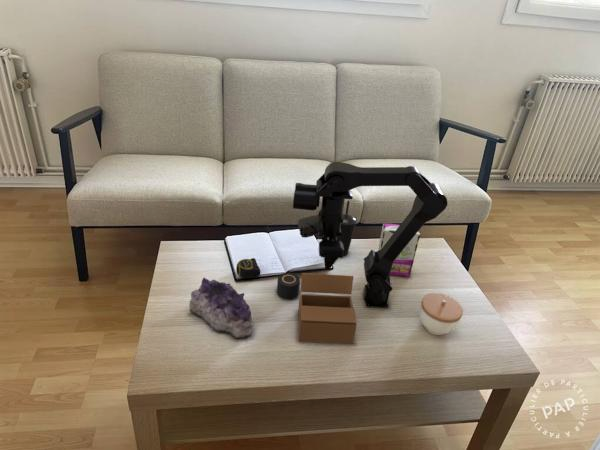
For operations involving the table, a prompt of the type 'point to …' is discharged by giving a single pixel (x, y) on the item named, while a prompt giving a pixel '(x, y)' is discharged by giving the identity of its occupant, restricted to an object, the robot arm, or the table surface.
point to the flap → (326, 283)
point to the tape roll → (288, 286)
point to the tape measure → (248, 268)
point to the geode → (222, 308)
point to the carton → (326, 319)
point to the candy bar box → (406, 257)
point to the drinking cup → (347, 229)
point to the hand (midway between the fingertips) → (325, 259)
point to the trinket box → (440, 313)
